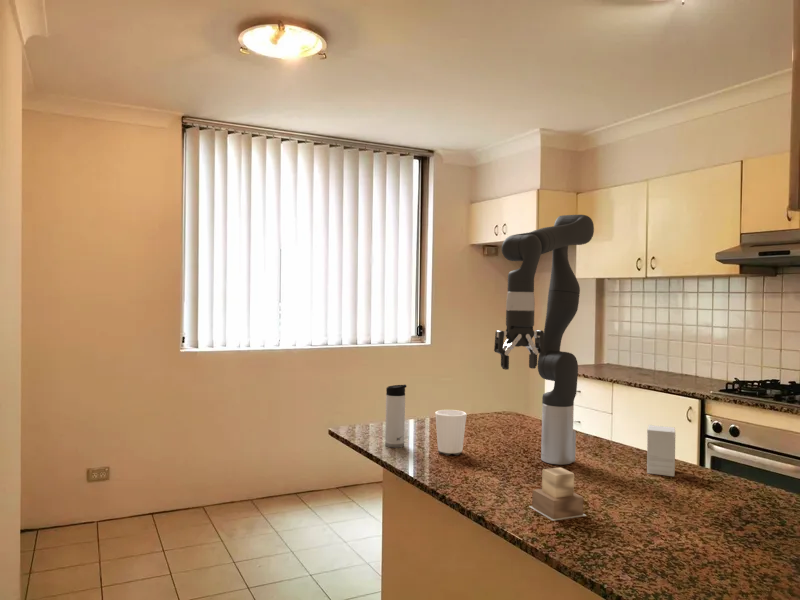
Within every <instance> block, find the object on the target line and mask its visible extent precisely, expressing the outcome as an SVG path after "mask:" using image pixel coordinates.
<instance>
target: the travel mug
mask: <svg viewBox="0 0 800 600" xmlns="http://www.w3.org/2000/svg"><path fill="white" fill-rule="evenodd" d="M406 388H407V384H396V385H394V384H393V385H389V386H387V387H386V393H385V430H384V431H385V432H384V433H385V436H384V437H385V438H384V444H385V446H386V447H387V448H392V449H394V448H395V449H397V448H402V447H404V446H405V429H406V428H405V425H406V424H405V422H406Z"/></svg>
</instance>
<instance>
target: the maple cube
mask: <svg viewBox="0 0 800 600" xmlns="http://www.w3.org/2000/svg"><path fill="white" fill-rule="evenodd" d="M541 473H542V475H541V477H542V478H541V489H542V491H543V492H545V493H547V494H549V495H551V496H552V497H554V498H559V497H567V496H574V493H575V473H574V472H572V471H569V470H567V469H566V468H563V467H560V466H559V467H550V468H543V469H542V472H541Z"/></svg>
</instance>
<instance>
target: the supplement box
mask: <svg viewBox="0 0 800 600" xmlns="http://www.w3.org/2000/svg"><path fill="white" fill-rule="evenodd" d="M646 431H647V433H646V435H647V437H646V439H647V441H646V442H647V446H646V448H647V451H646V453H647V454H646V465H647V466H646V473H647V474H651V475H658V476H659V475H660V476H666V477H667V476H668V477H675V471H676V469H675V468H676V428H675V427H674V426H663V425H652V424H648V427H647V430H646Z"/></svg>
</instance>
